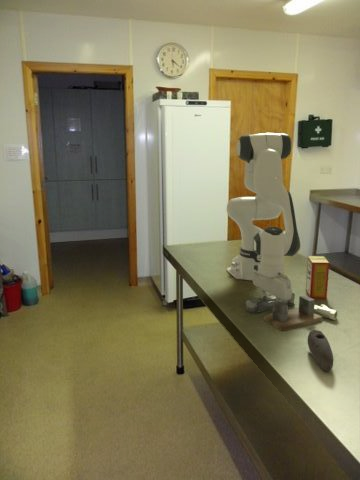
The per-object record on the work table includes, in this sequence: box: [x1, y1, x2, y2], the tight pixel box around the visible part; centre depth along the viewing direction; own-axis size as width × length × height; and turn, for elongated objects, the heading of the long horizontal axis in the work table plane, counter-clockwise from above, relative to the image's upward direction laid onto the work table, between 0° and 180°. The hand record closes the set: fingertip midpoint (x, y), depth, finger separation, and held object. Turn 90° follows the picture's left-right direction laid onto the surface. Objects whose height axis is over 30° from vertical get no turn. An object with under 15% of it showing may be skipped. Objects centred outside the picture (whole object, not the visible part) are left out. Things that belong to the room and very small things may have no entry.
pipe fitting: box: [314, 303, 338, 321], centre depth 138 cm, size 8×4×7 cm
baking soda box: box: [305, 255, 330, 300], centre depth 157 cm, size 10×6×16 cm
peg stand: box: [263, 294, 323, 332], centre depth 134 cm, size 10×18×8 cm, turn 114°
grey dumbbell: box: [245, 292, 296, 315], centre depth 146 cm, size 4×22×4 cm, turn 114°
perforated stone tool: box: [307, 329, 334, 373], centre depth 108 cm, size 15×5×7 cm, turn 174°
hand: (270, 303), depth 147 cm, fingers open, 6 cm apart
